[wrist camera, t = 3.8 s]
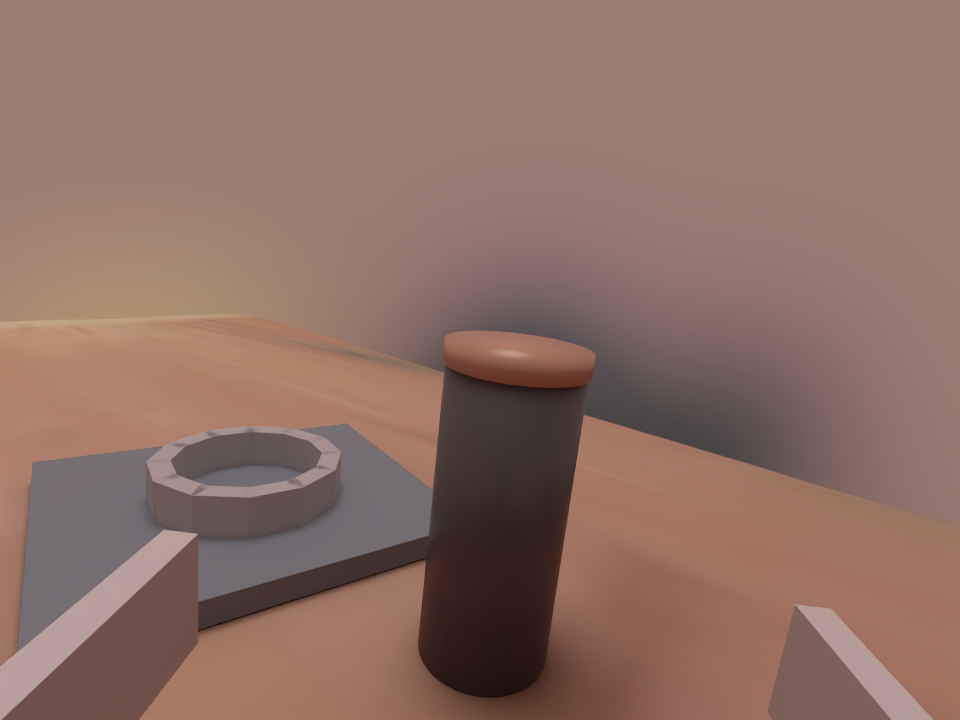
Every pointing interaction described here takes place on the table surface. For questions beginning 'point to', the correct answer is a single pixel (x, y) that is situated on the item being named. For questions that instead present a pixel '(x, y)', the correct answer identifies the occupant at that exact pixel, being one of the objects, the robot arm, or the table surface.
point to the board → (227, 569)
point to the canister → (500, 506)
